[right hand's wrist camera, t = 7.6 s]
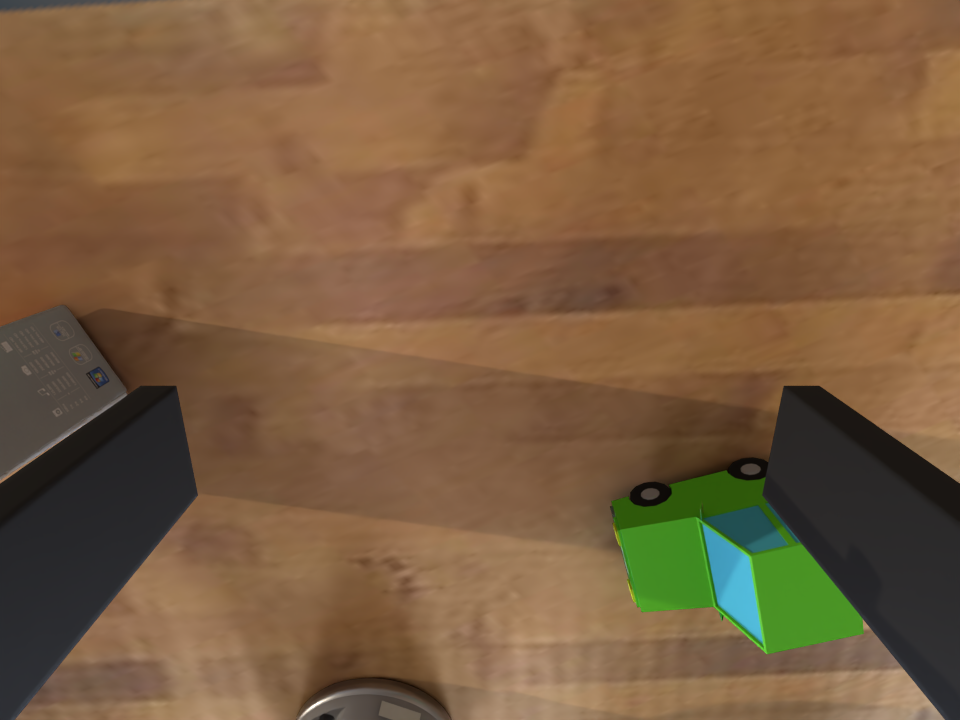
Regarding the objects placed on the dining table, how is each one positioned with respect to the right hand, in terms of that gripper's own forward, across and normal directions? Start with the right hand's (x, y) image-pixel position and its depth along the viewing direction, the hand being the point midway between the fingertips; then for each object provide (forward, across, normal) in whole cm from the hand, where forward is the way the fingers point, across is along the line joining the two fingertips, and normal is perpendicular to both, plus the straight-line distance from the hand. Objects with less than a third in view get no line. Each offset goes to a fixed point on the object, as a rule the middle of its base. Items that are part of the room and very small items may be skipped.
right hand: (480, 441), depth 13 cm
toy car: (+27, -17, +21) cm, 38 cm away
